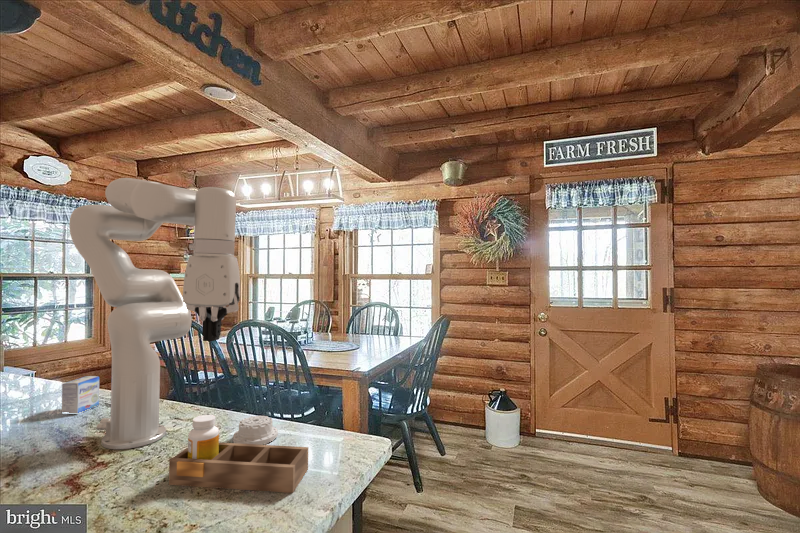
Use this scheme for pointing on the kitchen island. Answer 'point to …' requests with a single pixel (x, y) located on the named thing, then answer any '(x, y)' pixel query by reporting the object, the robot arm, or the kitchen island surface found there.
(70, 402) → the medicine box
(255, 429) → the mechanical component
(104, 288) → the robot arm
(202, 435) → the supplement bottle
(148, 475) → the kitchen island surface
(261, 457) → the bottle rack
